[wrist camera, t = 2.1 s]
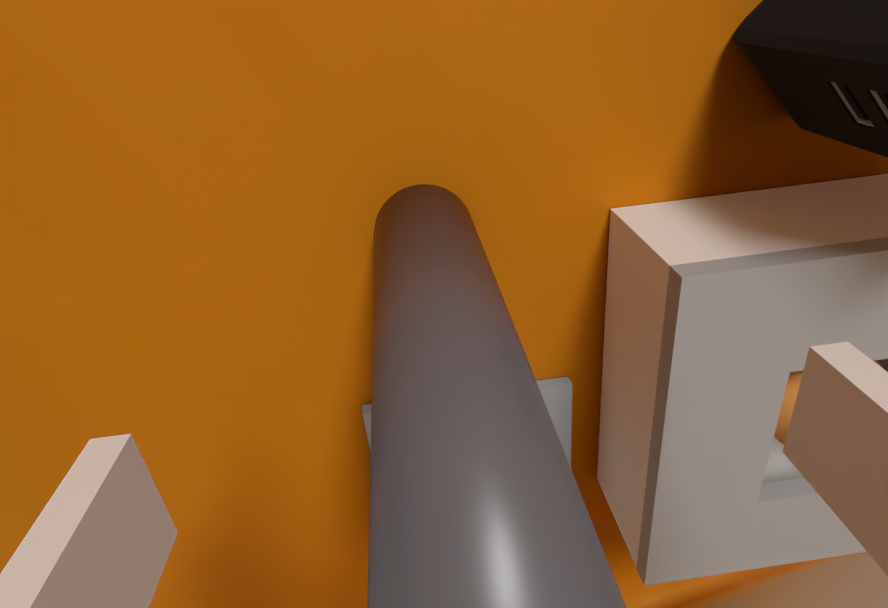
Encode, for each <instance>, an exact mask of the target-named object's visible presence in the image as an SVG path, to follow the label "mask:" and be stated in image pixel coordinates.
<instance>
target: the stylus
mask: <svg viewBox="0 0 888 608" xmlns="http://www.w3.org/2000/svg"><path fill="white" fill-rule="evenodd" d="M368 608H626V606H625V603H624V601H623V598H622V595H621V593H620V590H619V588H618V585H617V583H616V580H615V578H614V575H613V573H612V570H611V568H610V565H609V563H608V560H607V558H606V555H605V553H604V550H603V548H602V545H601V543H600V540H599V538H598V535H597V533H596V530H595V528H594V525H593V523H592V520H591V518H590V515H589V513H588V510H587V508H586V505H585V503H584V500H583V498H582V495H581V493H580V490H579V487H578V485H577V482H576V480H575V477H574V475H573V472H572V470H571V467H570V465H569V462H568V460H567V457H566V455H565V452H564V450H563V447H562V445H561V442H560V440H559V437H558V435H557V432H556V430H555V427H554V425H553V422H552V420H551V417H550V415H549V412H548V410H547V407H546V405H545V402H544V400H543V397H542V395H541V392H540V390H539V387H538V385H537V382H536V379H535V377H534V374H533V372H532V369H531V367H530V364H529V362H528V359H527V357H526V354H525V352H524V349H523V347H522V344H521V342H520V339H519V337H518V334H517V332H516V329H515V327H514V324H513V322H512V319H511V317H510V314H509V312H508V309H507V307H506V304H505V302H504V299H503V297H502V294H501V292H500V289H499V287H498V284H497V282H496V279H495V277H494V274H493V271H492V269H491V266H490V264H489V261H488V259H487V256H486V254H485V251H484V249H483V246H482V244H481V241H480V239H479V236H478V234H477V231H476V229H475V226H474V224H473V221H472V219H471V216H470V214H469V212H468V209H467V208H466V206H465V205H464V203H463V202H462V201H461V200H460V199H459V198H458V197H457V196H456V195H455V194H453V193H452V192H450V191H449V190H447V189H445V188H442V187H439V186H434V185H425V184H424V185H415V186H410V187H407V188H405V189H403V190H400V191H399V192H397V193H395V194H394V195H393V196H392V197H390V198H389V199H388V200H387V201H386V202H385V204H384V205H383V206H382V208H381V210H380V212H379V214H378V216H377V219H376V223H375V241H374V294H373V346H372V399H371V451H370V504H369V557H368Z"/></svg>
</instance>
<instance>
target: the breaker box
mask: <svg viewBox="0 0 888 608" xmlns="http://www.w3.org/2000/svg"><path fill="white" fill-rule="evenodd" d="M841 342H849V343H850V344H852V345H853V346H854V347H856V348H857V349H858V350H860V351H861V352H862V353H863V354H865V355H866V356H867V357H869V358H870V359H871V360H873V361H874V360H875V361H876V362H878V363H879V364H880V365H881V366H882V367H883V369H884V370H886V371H887V372H888V174H881V175H873V176H866V177H858V178H850V179H842V180H834V181H826V182H818V183H810V184H802V185H794V186H787V187H779V188H771V189H763V190H755V191H747V192H739V193H731V194H723V195H715V196H708V197H700V198H692V199H684V200H676V201H668V202H660V203H652V204H644V205H636V206H629V207H621V208H613V209H610V228H609V248H608V267H607V287H606V307H605V327H604V347H603V366H602V386H601V406H600V426H599V446H598V466H597V480H598V482H599V484H600V487H601V489H602V491H603V493H604V496H605V498H606V500H607V503H608V505H609V507H610V509H611V512H612V514H613V516H614V518H615V521H616V523H617V525H618V527H619V530H620V532H621V534H622V536H623V539H624V541H625V543H626V545H627V548H628V550H629V552H630V554H631V557H632V559H633V561H634V564H635V566H636V568H637V570H638V573H639V575H640V577H641V579H642V582H643V584H644V586H646V585H652V584H659V583H665V582H672V581H678V580H685V579H691V578H698V577H704V576H711V575H717V574H724V573H730V572H737V571H743V570H750V569H756V568H763V567H769V566H776V565H782V564H789V563H795V562H802V561H808V560H815V559H821V558H828V557H834V556H841V555H847V554H854V553H860V552H867V551H866V550H865V548H864V547H863V546H862V545H861V544H860V543H859V541H858V540H857V539H856V538H855V537H854V535H853V534H852V533H851V532H850V531H849V530H848V528H847V527H846V526H845V525H844V524H843V523H842V521H841V520H840V519H839V518H838V517H837V515H836V514H835V513H834V512H833V511H832V510H831V508H830V507H829V506H828V505H827V504H826V502H825V501H824V500H823V499H822V498H821V497H820V495H819V494H818V493H817V492H816V491H815V490H814V488H813V487H812V486H811V485H810V484H809V482H808V481H807V480H806V479H805V478H804V477H803V475H802V474H801V473H800V472H799V471H798V470H797V468H796V467H795V466H794V465H793V464H792V462H791V461H790V460H789V459H788V458H787V457H786V455H785V454H784V453H783V452H782V451H783V448H784V445H783V444H782V443H780V442H779V441H778V440H777V439H776V438H775V437H774V434H775V430H776V426H777V422H778V418H779V414H780V410H781V406H782V402H783V398H784V394H785V390H786V386H787V382H788V378H789V374H790V372H795V371H803V370H804V366H805V363H806V359H807V355H808V351H809V347H810V346H818V345H825V344H833V343H841Z"/></svg>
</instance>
